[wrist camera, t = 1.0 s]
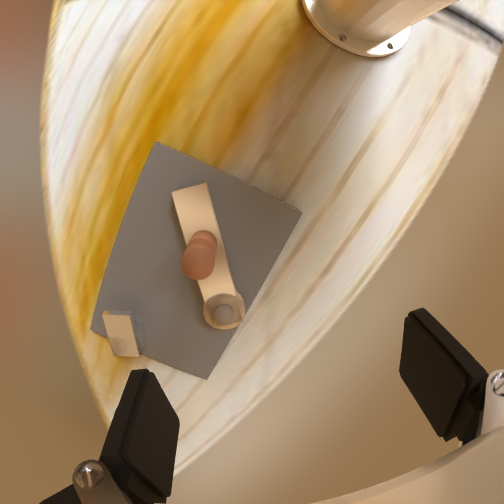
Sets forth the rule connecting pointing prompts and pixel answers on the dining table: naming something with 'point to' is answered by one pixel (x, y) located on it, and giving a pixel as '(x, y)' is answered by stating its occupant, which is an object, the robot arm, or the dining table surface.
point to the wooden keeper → (124, 333)
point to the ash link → (207, 257)
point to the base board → (172, 249)
